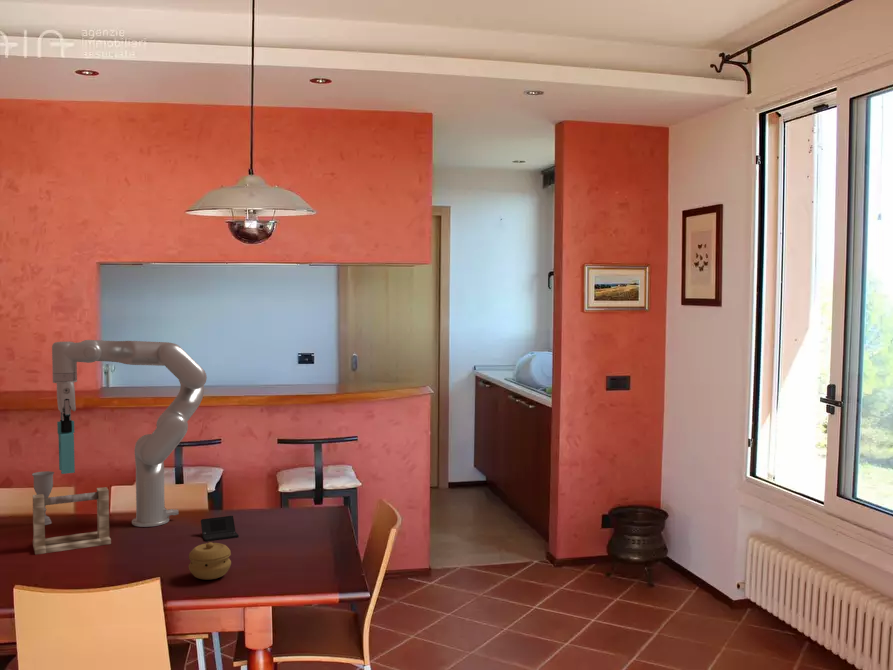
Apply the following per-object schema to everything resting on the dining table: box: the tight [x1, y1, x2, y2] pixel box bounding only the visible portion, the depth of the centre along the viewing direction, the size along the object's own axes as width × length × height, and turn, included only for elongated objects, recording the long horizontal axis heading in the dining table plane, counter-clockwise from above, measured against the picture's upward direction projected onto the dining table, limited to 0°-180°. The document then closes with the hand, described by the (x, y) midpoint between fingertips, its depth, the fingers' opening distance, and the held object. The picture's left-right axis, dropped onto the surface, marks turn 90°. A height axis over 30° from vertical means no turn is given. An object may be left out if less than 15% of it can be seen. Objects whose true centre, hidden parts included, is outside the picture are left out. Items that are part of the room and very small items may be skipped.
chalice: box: [31, 470, 55, 526], centre depth 283 cm, size 7×7×18 cm
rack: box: [32, 486, 112, 556], centre depth 259 cm, size 22×12×17 cm, turn 121°
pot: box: [188, 541, 232, 581], centre depth 228 cm, size 12×12×10 cm
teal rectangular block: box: [56, 419, 76, 475], centre depth 271 cm, size 5×9×17 cm, turn 31°
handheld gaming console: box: [200, 515, 240, 543], centre depth 269 cm, size 12×7×10 cm
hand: (66, 431), depth 271 cm, fingers closed on teal rectangular block
